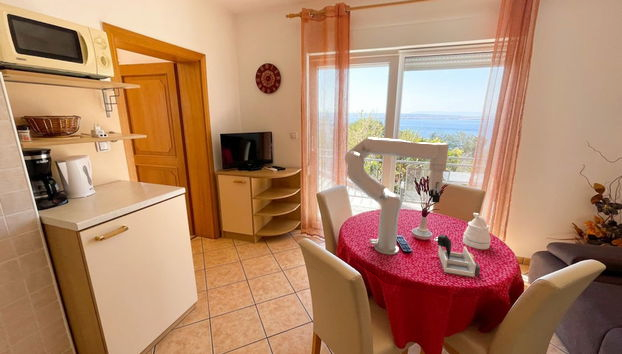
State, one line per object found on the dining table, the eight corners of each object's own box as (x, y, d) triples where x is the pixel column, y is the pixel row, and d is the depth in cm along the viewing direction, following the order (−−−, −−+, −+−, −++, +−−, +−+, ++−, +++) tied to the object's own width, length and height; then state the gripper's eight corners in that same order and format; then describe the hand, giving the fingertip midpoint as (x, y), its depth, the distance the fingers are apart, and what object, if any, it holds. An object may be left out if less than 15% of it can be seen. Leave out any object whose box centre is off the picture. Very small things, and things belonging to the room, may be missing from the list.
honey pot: (463, 246, 139) (467, 216, 135) (462, 237, 150) (465, 209, 146) (491, 251, 133) (496, 220, 129) (487, 241, 144) (492, 212, 140)
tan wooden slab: (470, 265, 120) (471, 257, 119) (467, 260, 124) (468, 252, 124) (473, 265, 119) (474, 258, 119) (470, 260, 124) (471, 253, 123)
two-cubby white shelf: (444, 272, 114) (446, 260, 113) (438, 253, 130) (439, 243, 129) (473, 277, 110) (475, 264, 109) (463, 257, 127) (465, 246, 125)
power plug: (448, 261, 122) (447, 239, 120) (432, 257, 128) (431, 235, 126) (452, 257, 126) (452, 235, 124) (437, 252, 132) (436, 231, 130)
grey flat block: (475, 275, 112) (477, 267, 111) (472, 269, 116) (473, 261, 116) (478, 275, 111) (480, 267, 111) (475, 269, 116) (476, 262, 115)
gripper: (427, 164, 135) (424, 194, 139) (431, 169, 119) (428, 203, 123) (442, 165, 133) (439, 195, 137) (449, 170, 117) (445, 205, 121)
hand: (434, 199), depth 130 cm, fingers open, 9 cm apart
